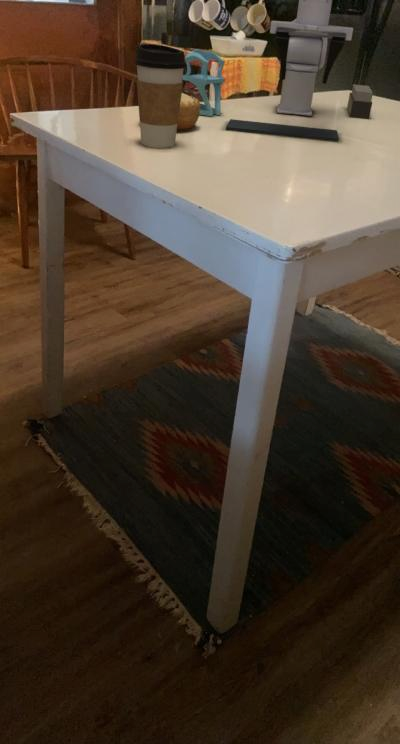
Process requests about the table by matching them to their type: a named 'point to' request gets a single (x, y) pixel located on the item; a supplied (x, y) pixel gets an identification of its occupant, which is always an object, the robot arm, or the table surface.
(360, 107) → the grey rectangular block
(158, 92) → the coffee cup
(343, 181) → the table surface
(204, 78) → the chair
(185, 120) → the pastry
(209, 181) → the table surface
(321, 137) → the desk mat
